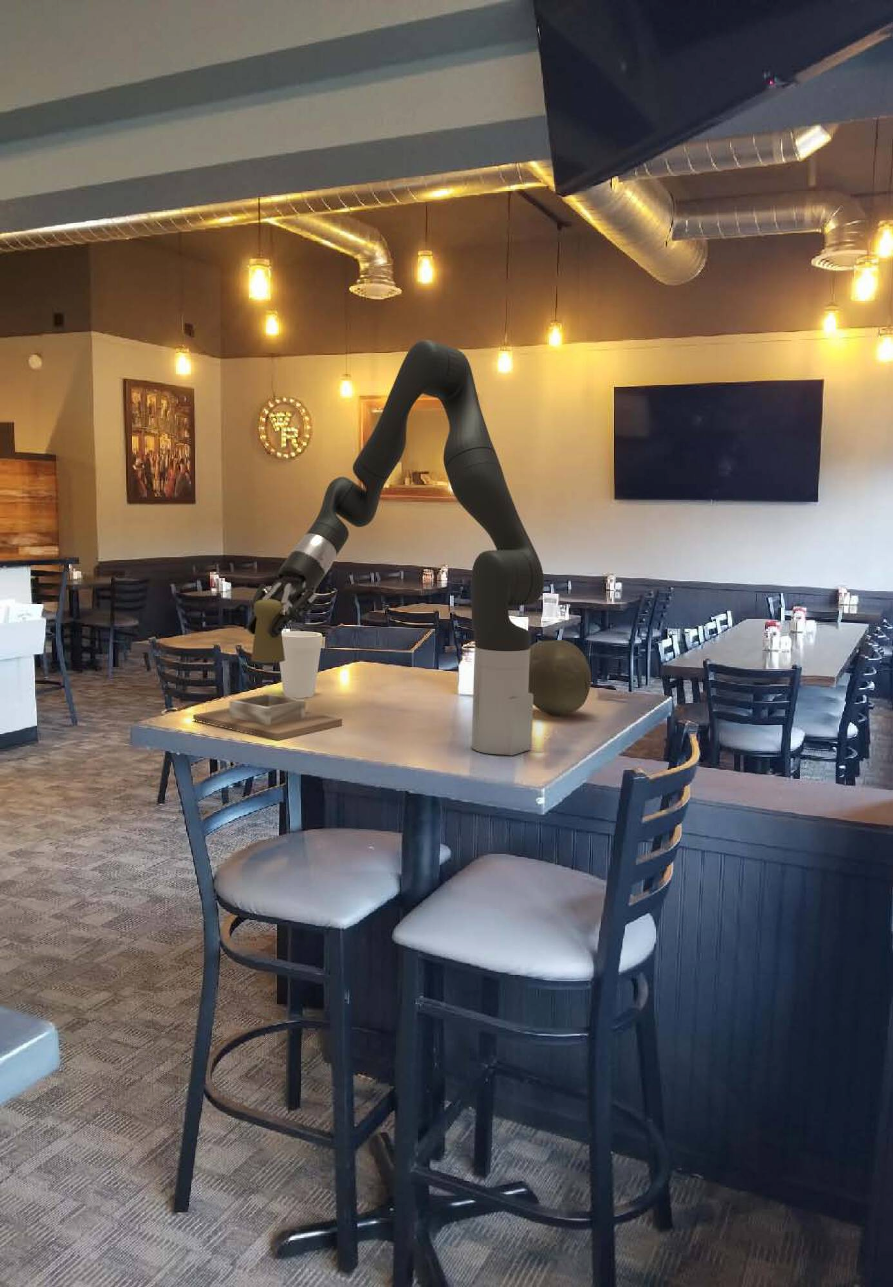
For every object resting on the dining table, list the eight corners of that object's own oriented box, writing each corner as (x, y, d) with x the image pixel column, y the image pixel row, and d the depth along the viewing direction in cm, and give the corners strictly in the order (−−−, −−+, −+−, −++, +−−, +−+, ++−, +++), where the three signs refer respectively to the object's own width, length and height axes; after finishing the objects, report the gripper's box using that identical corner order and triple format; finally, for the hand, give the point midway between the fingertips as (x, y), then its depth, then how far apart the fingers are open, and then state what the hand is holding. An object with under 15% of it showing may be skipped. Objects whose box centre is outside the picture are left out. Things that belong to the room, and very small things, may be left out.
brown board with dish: (342, 725, 176) (342, 702, 175) (277, 740, 163) (277, 716, 163) (258, 708, 189) (258, 687, 188) (193, 721, 176) (193, 698, 175)
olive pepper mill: (277, 663, 171) (278, 602, 169) (245, 661, 172) (245, 600, 171) (289, 658, 177) (290, 598, 175) (258, 656, 178) (259, 597, 176)
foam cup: (268, 697, 200) (268, 635, 198) (289, 689, 209) (289, 630, 207) (309, 701, 197) (309, 638, 196) (328, 693, 206) (329, 633, 204)
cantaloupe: (569, 706, 199) (572, 634, 197) (601, 721, 186) (605, 644, 183) (506, 709, 194) (508, 635, 192) (534, 724, 181) (537, 645, 179)
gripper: (271, 547, 182) (222, 615, 174) (326, 551, 173) (277, 623, 166) (291, 574, 187) (244, 642, 179) (346, 579, 178) (299, 650, 171)
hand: (260, 632), depth 172 cm, fingers closed on olive pepper mill, 5 cm apart
